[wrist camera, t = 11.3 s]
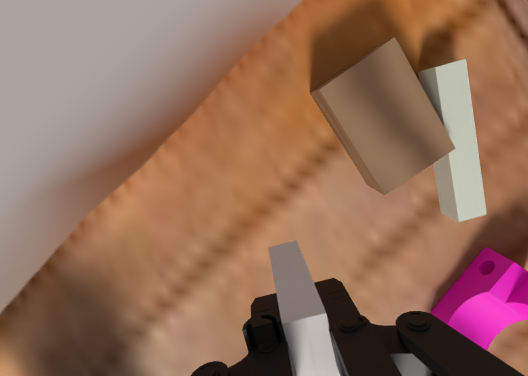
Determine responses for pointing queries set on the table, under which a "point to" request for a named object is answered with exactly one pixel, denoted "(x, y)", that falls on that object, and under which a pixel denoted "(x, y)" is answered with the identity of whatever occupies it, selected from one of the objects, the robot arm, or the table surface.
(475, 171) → the board
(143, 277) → the table surface
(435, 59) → the table surface
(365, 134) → the walnut block
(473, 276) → the magenta arch bracket
